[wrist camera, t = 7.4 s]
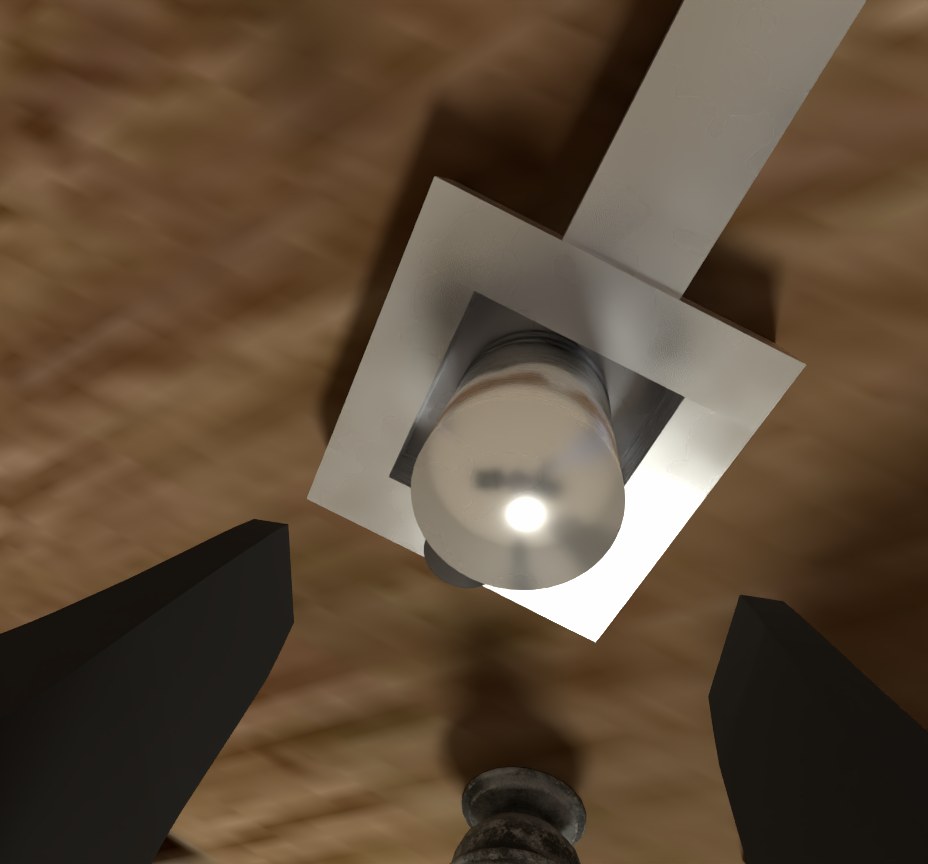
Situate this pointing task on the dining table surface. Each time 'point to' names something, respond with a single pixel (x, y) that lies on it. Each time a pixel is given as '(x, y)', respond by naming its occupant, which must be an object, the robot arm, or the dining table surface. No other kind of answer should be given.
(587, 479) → the shiny metal cylinder
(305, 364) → the dining table surface
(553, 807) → the grey figurine
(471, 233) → the grey piece
